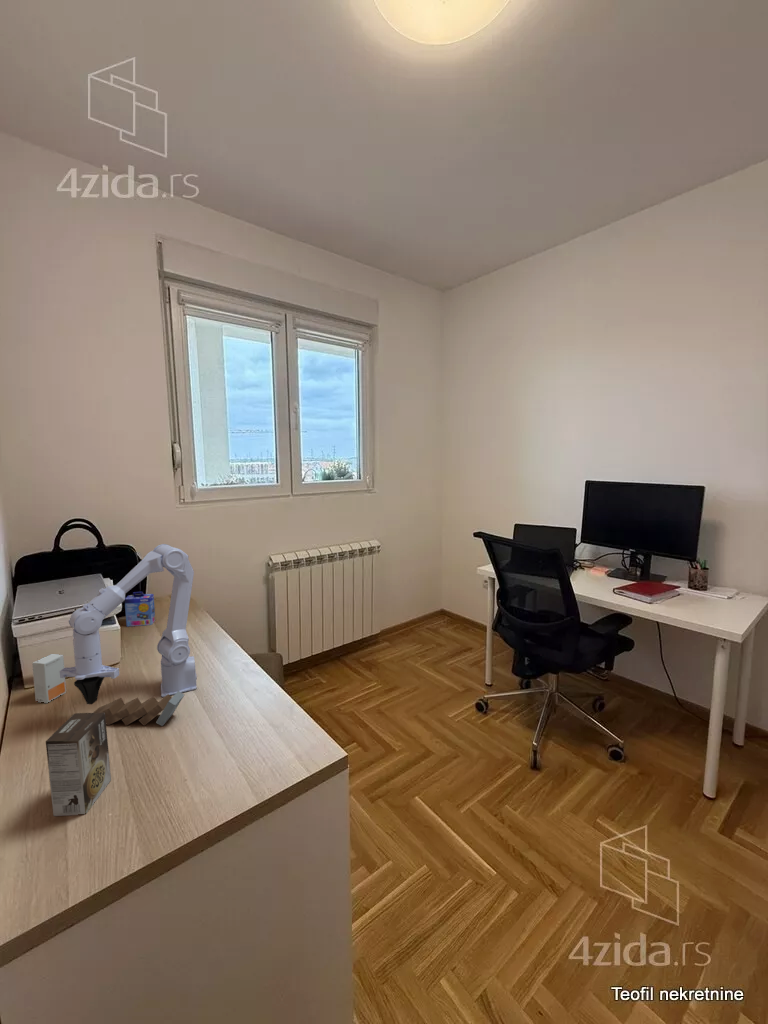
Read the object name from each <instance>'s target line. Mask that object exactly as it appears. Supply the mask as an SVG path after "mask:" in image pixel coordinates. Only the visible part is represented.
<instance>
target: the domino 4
mask: <svg viewBox="0 0 768 1024" xmlns="http://www.w3.org/2000/svg"><path fill="white" fill-rule="evenodd" d="M172 697H173V696H172V695H169V694H167V695H166V696H165V697H162V698H161V699H160V700H159V701H158V703H157V704H156V705H155V706H154V707H153V708H152V709H151V710H150V711H149V712H148V713H147V714H145V715H144V716H142V717H140V718H139V719H138V722H139V723H141V724H142V725H143V727H144V726H146V725H147V724H148V723H150V722H151V721H152V720H153V719H155V718H156V717H157V716H159V714H161V713H162V712H163V710H164V708H165V707H166V705H167V703H168V702H169V701H170V699H171V698H172Z"/></svg>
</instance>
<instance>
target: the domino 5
mask: <svg viewBox="0 0 768 1024" xmlns="http://www.w3.org/2000/svg"><path fill="white" fill-rule="evenodd" d="M184 696H185V694H184V692H182V693H181V692H179V691H178V692H177V693H176V694H174V695H172V696H171V697H172V698H171V699H170V701H169V702H168V703H167V705H166V707H165V708H164V710H163V711H162V712H160V715H159V716H158V719H156V722H155V723H156V724H157V725H159V726H161V727H163V726H164V725H165V724H166V723H167V722H168V720H169V719H170V718H171V717H172V716H174V713H175V711H176V709H177V708H178V706H179V705H180V703H181V701H182V700H183V698H184Z"/></svg>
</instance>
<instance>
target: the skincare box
mask: <svg viewBox="0 0 768 1024" xmlns="http://www.w3.org/2000/svg"><path fill="white" fill-rule="evenodd" d="M64 658H65V657H64V654H60V655H59V654H50V655H48V656H46V657H43V658H41V659H40V660H38V659H37V660H35V661H33V662H32V663H31V664H32V673H33V675H32V676H33V677H32V678H33V685H34V686H33V688H34V697H35V698H34V699H35V702H36V701H38V702H37V703H41V702H44V703H43V704H48V702H49V703H50V702H51V700H52V701H53V699H54V700H55V699H57V698H59V697H61V696H62V695H65V694H66V693H67V688H66V687H67V683H66V677H65V678H60V672H59V671H60V670H62V669H64V668H65V659H64ZM60 695H61V696H60Z"/></svg>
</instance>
